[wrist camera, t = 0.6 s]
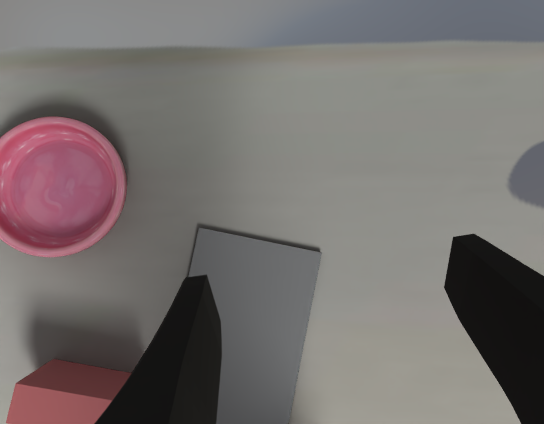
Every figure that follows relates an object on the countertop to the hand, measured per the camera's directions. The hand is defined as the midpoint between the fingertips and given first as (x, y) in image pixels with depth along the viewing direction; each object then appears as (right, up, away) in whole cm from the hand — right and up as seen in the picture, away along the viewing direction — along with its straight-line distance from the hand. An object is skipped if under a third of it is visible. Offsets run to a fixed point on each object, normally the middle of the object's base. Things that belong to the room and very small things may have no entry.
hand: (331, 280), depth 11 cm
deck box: (-18, -14, +24) cm, 33 cm away
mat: (-5, -10, +25) cm, 28 cm away
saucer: (-21, +4, +25) cm, 33 cm away
